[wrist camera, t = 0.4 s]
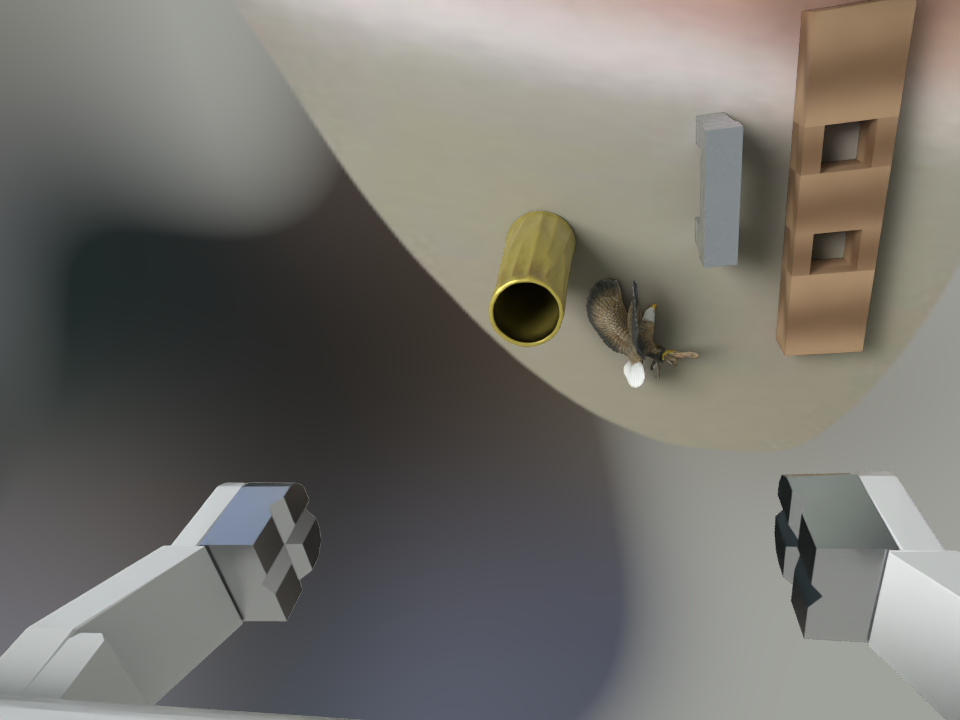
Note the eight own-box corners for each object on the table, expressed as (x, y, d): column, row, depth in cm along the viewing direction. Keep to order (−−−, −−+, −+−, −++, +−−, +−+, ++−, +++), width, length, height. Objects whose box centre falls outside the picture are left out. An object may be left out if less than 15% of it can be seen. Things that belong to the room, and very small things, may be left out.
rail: (801, 11, 43) (815, 12, 41) (897, -5, 42) (917, -5, 40) (775, 339, 56) (784, 355, 53) (849, 334, 54) (862, 351, 52)
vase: (574, 207, 53) (568, 269, 40) (577, 275, 56) (572, 352, 43) (503, 212, 54) (476, 274, 42) (509, 278, 57) (486, 354, 45)
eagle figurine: (710, 319, 55) (645, 257, 51) (691, 387, 52) (620, 326, 48) (644, 335, 61) (582, 281, 57) (623, 397, 58) (556, 344, 54)
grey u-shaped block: (693, 116, 48) (706, 130, 42) (726, 111, 47) (743, 125, 42) (692, 240, 52) (703, 267, 47) (722, 237, 52) (737, 264, 47)
